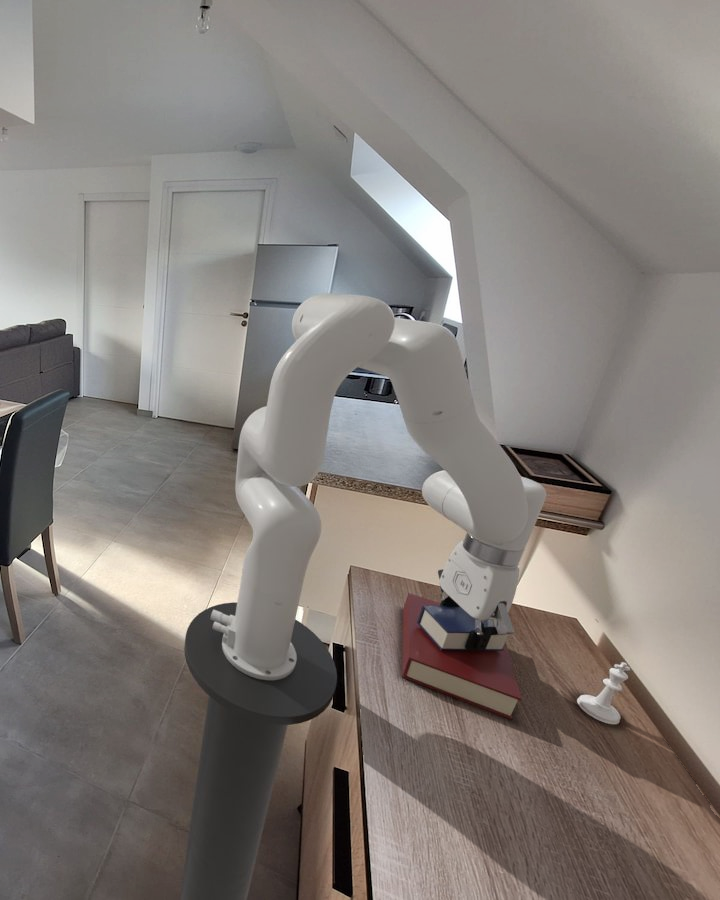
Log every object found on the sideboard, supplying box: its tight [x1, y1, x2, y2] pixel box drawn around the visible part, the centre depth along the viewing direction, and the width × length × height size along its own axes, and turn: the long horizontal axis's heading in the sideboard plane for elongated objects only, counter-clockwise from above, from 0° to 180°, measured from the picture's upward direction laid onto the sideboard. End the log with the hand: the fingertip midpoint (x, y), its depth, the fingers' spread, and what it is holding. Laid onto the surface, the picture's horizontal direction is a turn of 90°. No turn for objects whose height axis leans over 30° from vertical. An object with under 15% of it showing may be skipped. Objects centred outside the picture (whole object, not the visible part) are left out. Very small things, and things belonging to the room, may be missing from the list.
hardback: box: [401, 593, 523, 721], centre depth 82 cm, size 20×15×4 cm
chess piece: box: [576, 661, 631, 725], centre depth 71 cm, size 5×5×10 cm
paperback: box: [417, 606, 509, 651], centre depth 80 cm, size 11×6×4 cm, turn 91°
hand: (459, 633), depth 80 cm, fingers closed on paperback, 6 cm apart
